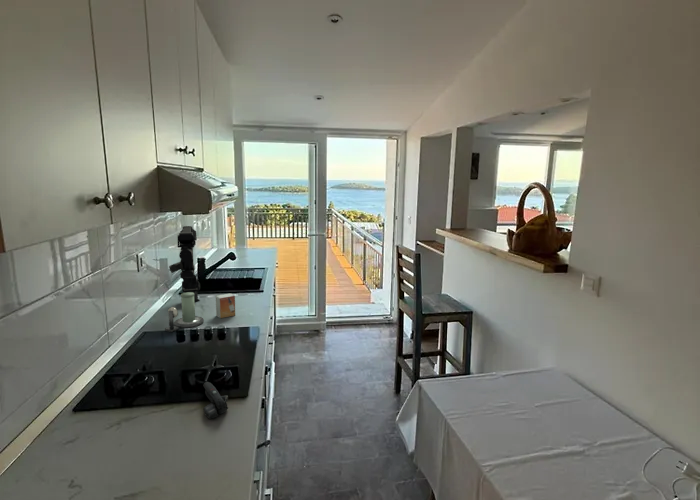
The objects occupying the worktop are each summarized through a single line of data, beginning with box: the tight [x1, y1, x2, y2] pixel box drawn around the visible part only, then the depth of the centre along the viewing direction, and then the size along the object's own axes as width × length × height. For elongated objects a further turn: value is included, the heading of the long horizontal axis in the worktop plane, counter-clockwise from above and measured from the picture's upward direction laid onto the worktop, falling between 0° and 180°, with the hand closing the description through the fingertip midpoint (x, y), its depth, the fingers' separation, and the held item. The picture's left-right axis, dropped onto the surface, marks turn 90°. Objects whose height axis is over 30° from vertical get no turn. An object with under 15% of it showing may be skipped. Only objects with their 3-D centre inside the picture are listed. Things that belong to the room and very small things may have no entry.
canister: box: [180, 292, 196, 322], centre depth 181 cm, size 6×6×13 cm
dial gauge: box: [164, 306, 180, 333], centre depth 172 cm, size 4×5×10 cm
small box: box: [215, 292, 236, 319], centre depth 192 cm, size 8×6×10 cm
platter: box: [174, 315, 205, 329], centre depth 182 cm, size 13×13×1 cm
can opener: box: [202, 381, 229, 420], centre depth 116 cm, size 18×7×6 cm, turn 31°
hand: (188, 286), depth 196 cm, fingers open, 9 cm apart
